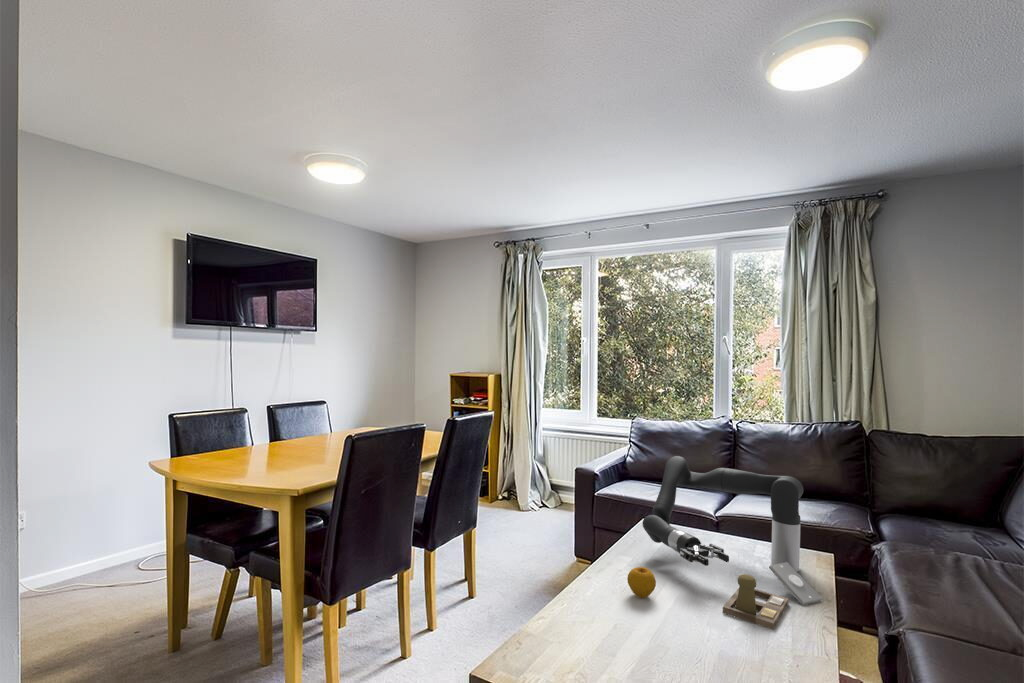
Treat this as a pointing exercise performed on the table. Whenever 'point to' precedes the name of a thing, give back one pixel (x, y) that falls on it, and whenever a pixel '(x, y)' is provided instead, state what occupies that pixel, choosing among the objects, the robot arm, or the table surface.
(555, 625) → the table surface
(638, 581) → the apple
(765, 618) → the wooden frame
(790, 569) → the light switch
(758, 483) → the robot arm
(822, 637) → the table surface
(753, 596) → the olive pawn figure
